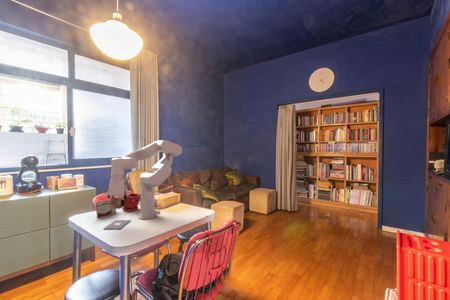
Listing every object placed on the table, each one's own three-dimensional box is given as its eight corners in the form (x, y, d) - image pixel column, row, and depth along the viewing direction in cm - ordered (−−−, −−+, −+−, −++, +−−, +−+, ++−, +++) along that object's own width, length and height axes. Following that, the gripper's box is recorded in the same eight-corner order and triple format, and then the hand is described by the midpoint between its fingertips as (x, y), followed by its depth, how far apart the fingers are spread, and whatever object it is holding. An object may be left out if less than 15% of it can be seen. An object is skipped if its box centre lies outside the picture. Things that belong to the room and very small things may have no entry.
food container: (109, 212, 163) (109, 199, 162) (113, 214, 159) (113, 200, 159) (91, 217, 152) (91, 203, 152) (95, 218, 149) (95, 204, 149)
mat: (130, 221, 145) (130, 220, 145) (120, 229, 130) (120, 228, 130) (115, 221, 144) (115, 220, 144) (103, 229, 129) (103, 228, 129)
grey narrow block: (117, 211, 166) (117, 202, 166) (113, 214, 160) (113, 204, 160) (109, 211, 166) (109, 202, 166) (105, 214, 160) (105, 204, 160)
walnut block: (124, 206, 140) (124, 196, 140) (120, 208, 134) (120, 199, 134) (115, 206, 140) (115, 196, 140) (110, 208, 134) (110, 199, 134)
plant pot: (124, 213, 162) (124, 197, 162) (119, 209, 171) (119, 194, 171) (142, 210, 171) (142, 194, 170) (136, 206, 180) (136, 192, 180)
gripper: (133, 176, 141) (133, 204, 141) (107, 176, 140) (106, 204, 140) (128, 178, 133) (128, 207, 133) (100, 178, 133) (100, 207, 133)
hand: (117, 205), depth 137 cm, fingers closed on walnut block, 6 cm apart
